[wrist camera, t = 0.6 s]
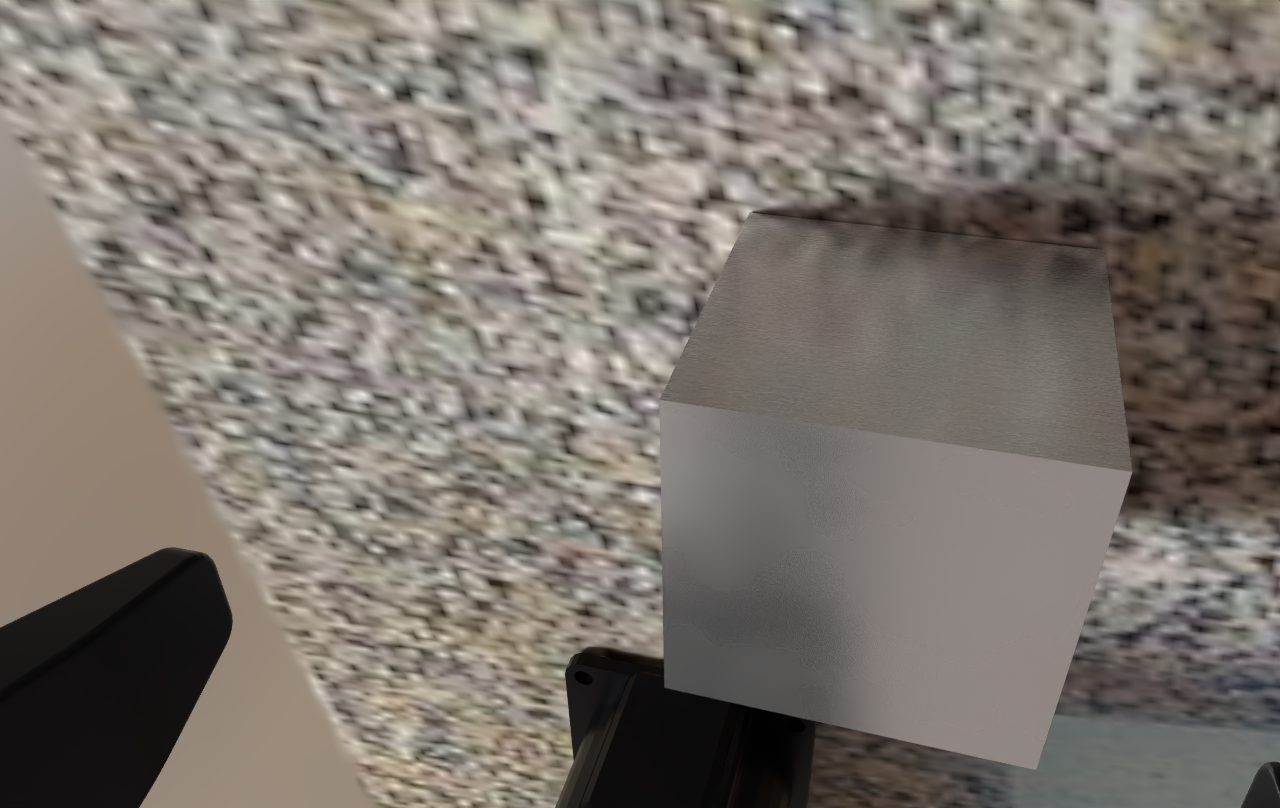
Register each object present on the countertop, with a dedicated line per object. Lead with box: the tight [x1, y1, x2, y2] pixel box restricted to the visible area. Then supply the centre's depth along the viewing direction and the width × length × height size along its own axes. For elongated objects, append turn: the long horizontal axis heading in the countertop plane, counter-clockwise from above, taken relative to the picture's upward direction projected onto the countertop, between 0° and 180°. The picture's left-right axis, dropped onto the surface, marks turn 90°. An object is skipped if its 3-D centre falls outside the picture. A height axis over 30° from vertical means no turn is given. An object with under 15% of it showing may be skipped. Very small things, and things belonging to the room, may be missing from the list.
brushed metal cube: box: [660, 213, 1132, 770], centre depth 18 cm, size 6×6×6 cm
